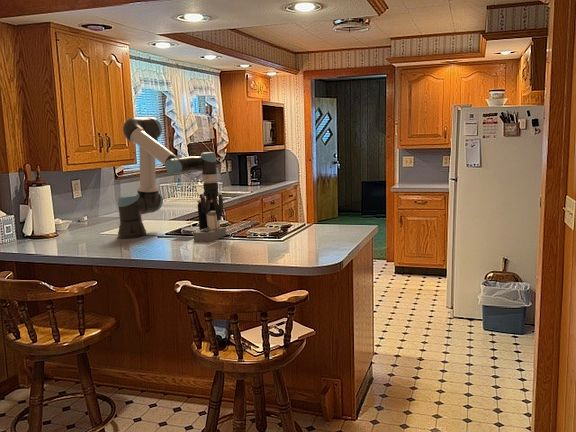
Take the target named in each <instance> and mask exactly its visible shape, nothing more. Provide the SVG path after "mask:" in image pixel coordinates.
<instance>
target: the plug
mask: <svg viewBox="0 0 576 432" xmlns="http://www.w3.org/2000/svg"><path fill="white" fill-rule="evenodd" d="M215 214H216V211H209V212H208V222H209V229H217V228H218V227H216V222H215Z"/></svg>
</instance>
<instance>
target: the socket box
mask: <svg viewBox="0 0 576 432" xmlns="http://www.w3.org/2000/svg"><path fill="white" fill-rule="evenodd" d="M192 234H193V236H192V237H194V239H193V241H194V242H206V243H211V242H213V241H217V240H219V239H221V238H223V237H225V236H227V227H226V226H219V227H218V228H217V229H209V227H207V228H204V229H201V230H200V229H199V230H196V231H193V232H192Z"/></svg>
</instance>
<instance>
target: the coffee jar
mask: <svg viewBox="0 0 576 432" xmlns="http://www.w3.org/2000/svg"><path fill="white" fill-rule="evenodd" d="M196 202H197V203H198V204H197V214H198V216H197V217H198V226H199V230H201V229H204V228H207V227H209V226H207V220H206V215H205V213H202V208H201V198H200V199H198V200H196ZM205 203H206V198H205ZM209 211H215V207H214V203H213V202H212V200H211V202H210V210H209ZM218 227H220V226H218Z"/></svg>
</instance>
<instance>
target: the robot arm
mask: <svg viewBox="0 0 576 432" xmlns="http://www.w3.org/2000/svg"><path fill="white" fill-rule="evenodd" d="M122 132H123V135H124V137H125V138H126V140H128V141H129V142H130V143H131V144H134V145H137V146H138V147H139V149H138V151H139V187H138V188H137V191H134V192H133V191H132V192H127V193H123V194H121V195H120V196H118V198H117V206H118V214H119V227H118V232H117V236H118V238H120V239H135V238H139V237H144V236H146V235H147V230H146V229H145V226H144V223H143V219H142V218H143V217H142V215H146V214H147V215H148V214H151V213H155V212H157V211H159V210H160V209H161V208H162V206H163V202H164V199H163V196H162V194H161V192H159V188H157V187H156V186H157V185H156V179H157V178H156V160H157V161H158V162H160V163H161V164H162V165H163V166H164V167H165V170H166V172H167V173H168V174H170V175H177V174H181V173H182V174H183V173H188V172H195V171H196V172H197V171H198V172H199V171H201V172H202V181H203V184H202V185H203V193H200V194H199V195H198V196H199V198H200V199H201V208H202V213H205V215H206V220H207V226H209V222H208V212H209V210H210V202H211V200H212V202H213V203H214V207H215V211H216V214H215V222H216V227H218V226H219V227H221V225H220V221H221V214H222V213H224V194H223V193H220V192H219V182H218V169H217V156H216V153H215V152H214V151H207V152H206V151H205V152H201V154H200V156H198V155H197V156H196V155H190V156H188V155H187V156H186V157H179V156H178V155H176V154H174V153H173V152H172V151H170V149H168V148H167V147H165V146H164V145H163V144H161V143H160V142H159V141H158V140H159V138H160V137H161V135H162V133H163V126H162V124H161V122H160V121H159V119H158V118H156V117H152V116H142V117H141V116H140V117H130V118H128V119H127V120H126V121H125V122H124V124H123V126H122ZM205 199H206V203H205Z"/></svg>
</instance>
